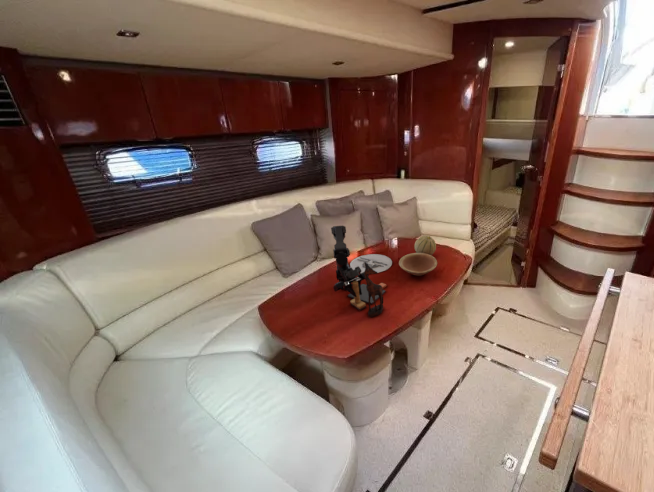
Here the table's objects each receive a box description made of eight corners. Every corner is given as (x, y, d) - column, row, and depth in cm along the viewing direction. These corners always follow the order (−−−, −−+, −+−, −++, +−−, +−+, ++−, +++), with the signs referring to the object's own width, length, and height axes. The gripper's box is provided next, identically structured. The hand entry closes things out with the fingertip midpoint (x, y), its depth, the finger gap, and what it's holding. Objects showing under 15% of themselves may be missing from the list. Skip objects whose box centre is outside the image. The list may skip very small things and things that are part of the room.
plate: (400, 260, 206) (400, 258, 205) (375, 278, 185) (375, 276, 185) (367, 251, 219) (367, 250, 219) (341, 267, 199) (341, 265, 198)
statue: (372, 321, 148) (367, 267, 134) (362, 315, 152) (357, 262, 138) (388, 310, 156) (385, 258, 142) (378, 305, 160) (375, 254, 146)
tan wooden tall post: (350, 304, 161) (347, 281, 153) (356, 301, 163) (353, 277, 156) (360, 311, 156) (356, 286, 148) (366, 307, 158) (363, 283, 151)
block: (377, 286, 176) (376, 285, 176) (381, 284, 179) (381, 282, 178) (381, 289, 174) (381, 287, 173) (386, 286, 176) (386, 284, 176)
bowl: (393, 277, 185) (393, 266, 181) (407, 261, 204) (407, 250, 201) (430, 284, 177) (430, 272, 173) (441, 266, 196) (441, 255, 193)
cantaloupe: (413, 252, 217) (413, 232, 210) (433, 250, 218) (433, 231, 211) (416, 261, 204) (416, 240, 197) (437, 259, 205) (438, 239, 198)
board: (347, 296, 168) (347, 295, 167) (362, 285, 178) (362, 283, 178) (371, 304, 161) (371, 303, 160) (385, 291, 171) (385, 290, 171)
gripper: (333, 269, 145) (347, 298, 143) (365, 257, 155) (379, 284, 153) (327, 277, 154) (341, 304, 152) (358, 265, 165) (371, 291, 162)
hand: (358, 295), depth 155 cm, fingers closed on tan wooden tall post, 3 cm apart
